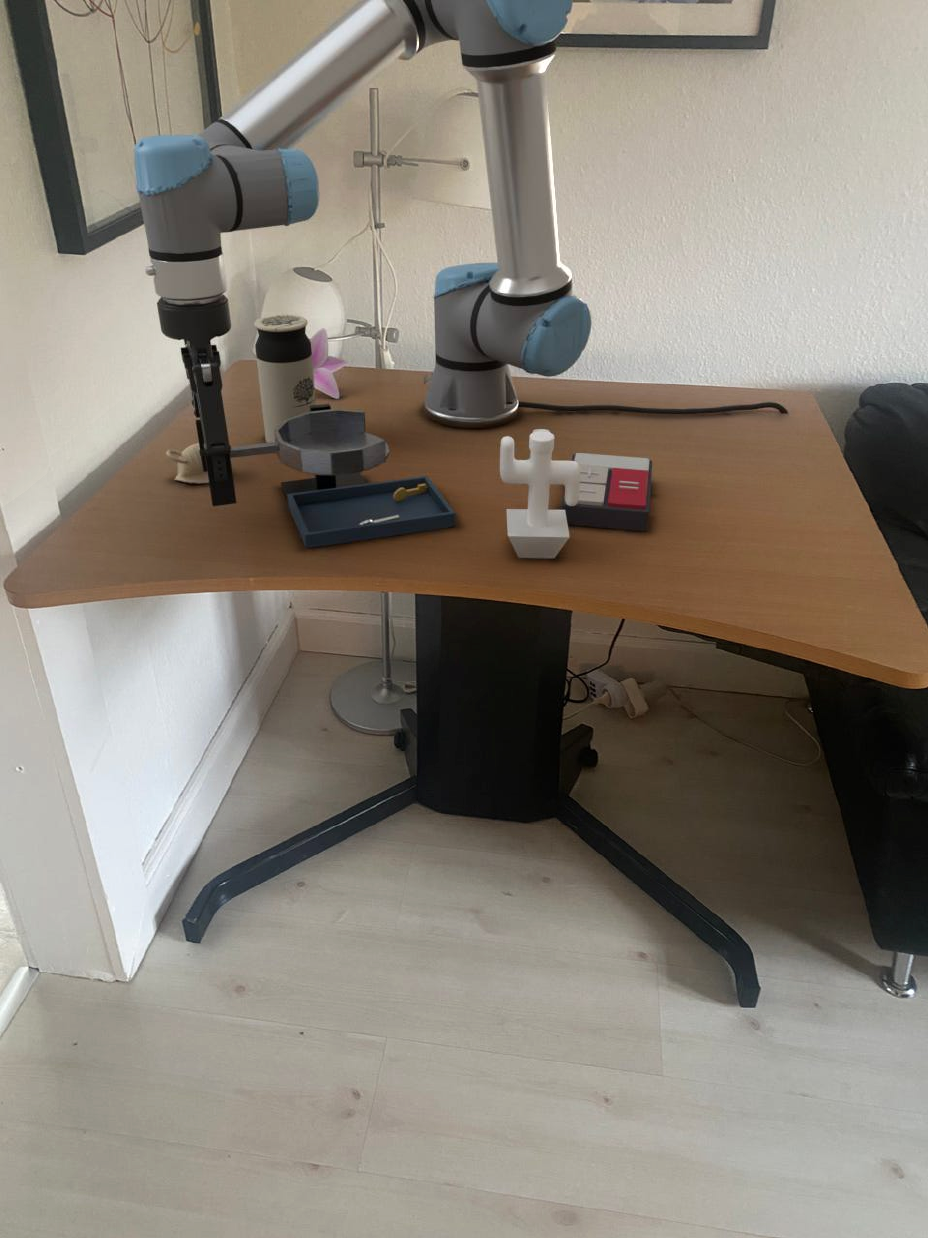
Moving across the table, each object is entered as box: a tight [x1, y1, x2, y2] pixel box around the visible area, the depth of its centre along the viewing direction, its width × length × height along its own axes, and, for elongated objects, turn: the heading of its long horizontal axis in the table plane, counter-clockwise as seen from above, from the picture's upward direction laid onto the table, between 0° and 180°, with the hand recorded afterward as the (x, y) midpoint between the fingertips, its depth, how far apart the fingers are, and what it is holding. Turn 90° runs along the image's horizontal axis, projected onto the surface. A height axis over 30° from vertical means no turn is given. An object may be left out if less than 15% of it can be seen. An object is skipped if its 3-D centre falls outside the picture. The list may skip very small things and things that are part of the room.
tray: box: [287, 475, 456, 549], centre depth 123 cm, size 19×12×2 cm, turn 109°
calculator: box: [560, 452, 653, 533], centre depth 127 cm, size 11×4×15 cm
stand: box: [280, 403, 367, 503], centre depth 127 cm, size 11×5×12 cm, turn 109°
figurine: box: [499, 428, 580, 559], centre depth 113 cm, size 7×9×15 cm
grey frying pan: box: [204, 408, 390, 476], centre depth 116 cm, size 22×15×3 cm, turn 109°
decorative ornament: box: [165, 442, 209, 485], centre depth 132 cm, size 4×8×5 cm, turn 130°
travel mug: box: [254, 314, 317, 443], centre depth 141 cm, size 8×8×18 cm
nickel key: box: [359, 515, 399, 525], centre depth 120 cm, size 6×2×1 cm
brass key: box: [393, 484, 428, 501], centre depth 128 cm, size 6×2×1 cm
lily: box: [309, 327, 348, 400], centre depth 162 cm, size 12×12×10 cm
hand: (219, 485), depth 115 cm, fingers open, 10 cm apart
